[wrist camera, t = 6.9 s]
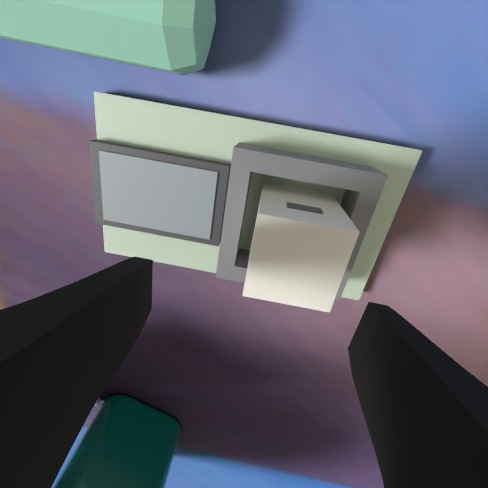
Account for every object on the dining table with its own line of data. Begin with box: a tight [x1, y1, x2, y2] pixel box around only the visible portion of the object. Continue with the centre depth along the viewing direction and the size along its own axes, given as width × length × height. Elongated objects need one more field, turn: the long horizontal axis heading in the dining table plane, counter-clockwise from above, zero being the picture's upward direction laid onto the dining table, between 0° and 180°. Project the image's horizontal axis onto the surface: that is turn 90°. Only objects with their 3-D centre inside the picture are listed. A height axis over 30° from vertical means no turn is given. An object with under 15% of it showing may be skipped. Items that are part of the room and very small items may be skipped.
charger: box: [242, 180, 360, 312], centre depth 14 cm, size 4×4×6 cm
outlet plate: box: [89, 91, 422, 301], centre depth 16 cm, size 10×18×3 cm, turn 81°
